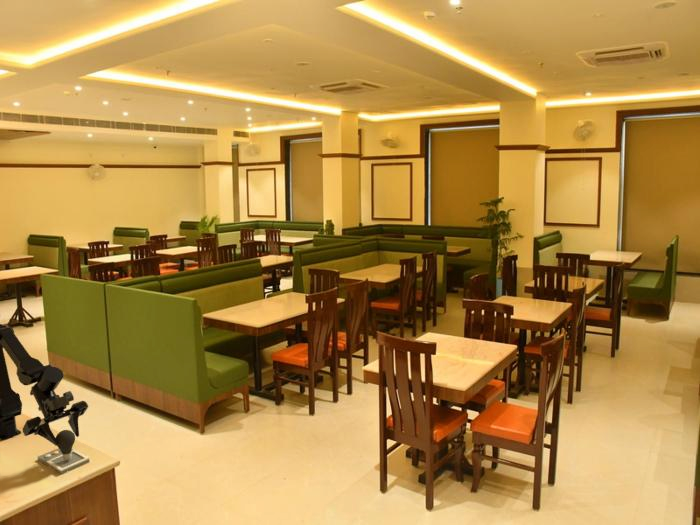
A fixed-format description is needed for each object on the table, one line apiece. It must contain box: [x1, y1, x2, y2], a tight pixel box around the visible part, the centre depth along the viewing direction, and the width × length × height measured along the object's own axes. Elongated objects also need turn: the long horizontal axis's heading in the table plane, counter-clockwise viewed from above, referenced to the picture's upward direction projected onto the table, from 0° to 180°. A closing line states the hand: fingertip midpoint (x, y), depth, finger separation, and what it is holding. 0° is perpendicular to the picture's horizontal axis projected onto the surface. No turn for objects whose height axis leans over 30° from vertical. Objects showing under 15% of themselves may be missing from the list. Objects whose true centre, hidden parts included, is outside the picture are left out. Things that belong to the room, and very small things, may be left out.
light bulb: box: [55, 429, 76, 461], centre depth 181 cm, size 6×6×10 cm
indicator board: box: [37, 447, 90, 475], centre depth 183 cm, size 15×9×1 cm, turn 53°
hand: (67, 440), depth 179 cm, fingers open, 6 cm apart
